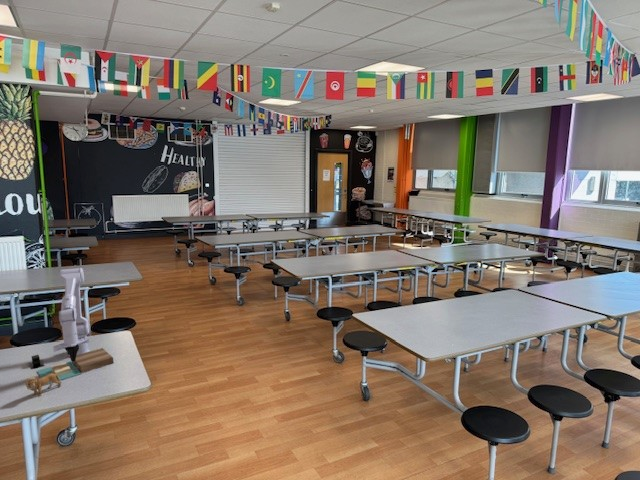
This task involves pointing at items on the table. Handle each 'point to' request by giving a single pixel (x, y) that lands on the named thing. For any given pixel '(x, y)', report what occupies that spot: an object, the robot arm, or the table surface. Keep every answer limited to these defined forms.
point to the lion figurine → (41, 382)
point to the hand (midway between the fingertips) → (73, 360)
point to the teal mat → (73, 373)
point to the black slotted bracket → (36, 362)
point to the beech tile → (61, 369)
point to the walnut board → (93, 360)
